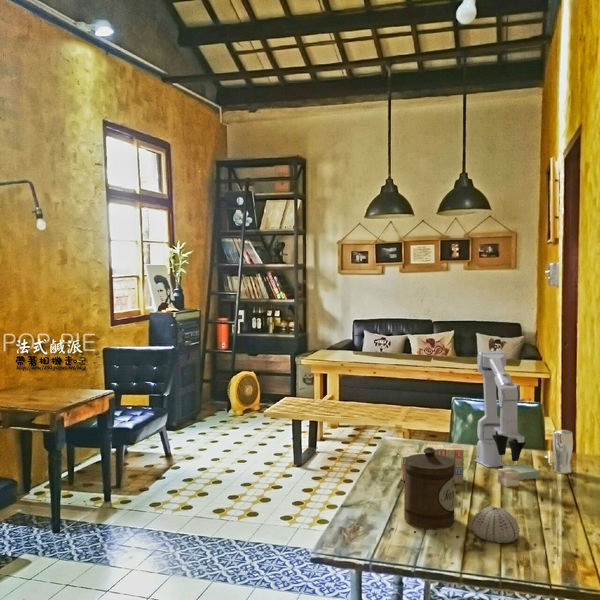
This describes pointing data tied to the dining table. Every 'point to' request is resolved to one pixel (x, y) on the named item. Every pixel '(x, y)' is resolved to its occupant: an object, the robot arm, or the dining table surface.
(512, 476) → the ash cube
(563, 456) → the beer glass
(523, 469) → the green slab
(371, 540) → the dining table surface
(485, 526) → the sea urchin shell
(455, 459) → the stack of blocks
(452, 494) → the wooden container
